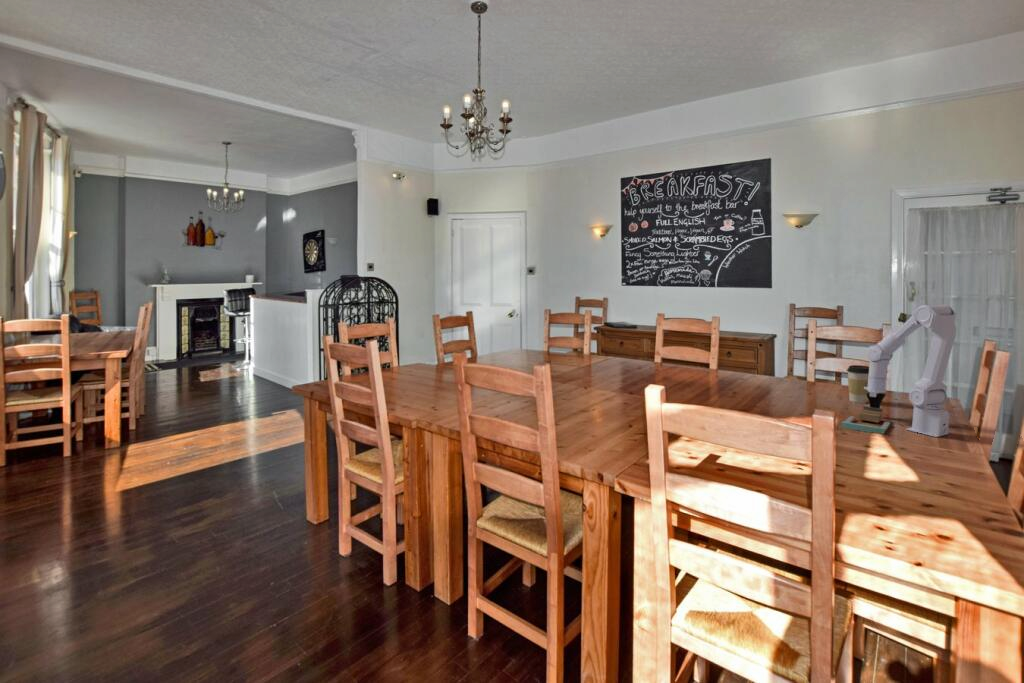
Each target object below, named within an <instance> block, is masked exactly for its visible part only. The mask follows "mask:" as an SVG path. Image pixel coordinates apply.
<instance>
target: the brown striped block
mask: <svg viewBox="0 0 1024 683" xmlns="http://www.w3.org/2000/svg"><path fill="white" fill-rule="evenodd" d="M858 418H859V420H860V421H861V422H862V421H864V422H865V421H866V422H873V423H874V424H875V423H876V424H879V422H881V420H882V419H883V408H881V407H880V408H872V407H870V406H863V407H862V410H861V411H860V412H859V417H858ZM876 424H875V425H876Z"/></svg>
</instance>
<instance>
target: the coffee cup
mask: <svg viewBox="0 0 1024 683" xmlns="http://www.w3.org/2000/svg"><path fill="white" fill-rule="evenodd" d="M846 371H847V375H848V376H847V382H848V383H847V385H848V394H849V397H848V398H849V402H851V401H852V402H851V403H855V402H857V404H867V403H868V397H867V395H866V394H867V393H870V392H869V391H868V390H866V389H864V387H868V376H869V366H867V365H858V364H857V365H855V364H854V365H853V364H852V365H849V366H848V368H847V369H846ZM866 402H867V403H866Z"/></svg>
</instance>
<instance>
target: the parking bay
mask: <svg viewBox="0 0 1024 683" xmlns="http://www.w3.org/2000/svg"><path fill="white" fill-rule="evenodd" d="M854 421H855V416H852V415H850V416H849V417H847V418H846V419H845V420H844V421H843V420H842V421H841V424H840V425H841V426H840V428H842V427H843V428H842V429H846V428H847V429H848V430H853V431H858V430H860V431H859V432H864V431H868V432H867V433H870V432H874V433H873V434H876V433H880V434H879V435H882V434H883V435H884V434H885V433H886V432H887V430H888V429H889V428H888V427H890V426H891V422H890V421H884V422H883V423H882V425H881V426H880V427H879V426H874V425H867V424H861V423H855V422H854ZM847 429H846V430H847ZM885 431H886V432H885Z"/></svg>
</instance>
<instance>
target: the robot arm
mask: <svg viewBox="0 0 1024 683" xmlns="http://www.w3.org/2000/svg"><path fill="white" fill-rule="evenodd" d="M956 317H957V312H956V311H955V310H954V309H953V307H952V306H950V305H948V304H940V305H927V304H923V305H920V306H918V307H917V308H916V309H915V310H914V311H913V312H912V314H911V316H910V317H909V318H908V319H907V320H906V321H905V322H904V324H902V325H901V326H900V328H898V330H897V331H896V332H895V331H891V332H887V333H886V334H885V337H884V338H883V339H881V340H880V341H878V342H877V343H876V345H870V346H869V347H868V348H867V350H866V358H867V359H868V360H869V376H868V387H864V389H866V390H868V391H869V393H867V394H866V395H867V397H868V399H867V401H869V407H872V408H880V409H881V404H882V402H883V400H884V398H885V397H886V395H887V394H886V392H887V389H886V388H887V380H888V379H887V377H888V366H889V365H890V361H891V359H892V358H893V356H894V353H895V352H896V351H897V350H899V348H901V347H902V346H903V345H904V344H905V343H906V338H907V337H909V336H910V335H912V333H914V332H915V331H916V330H918V329H919V328H921V327H925V328H926V329H927V330H929V331H930V332H931V333H932V334H933V337H932V341H931V345H930V348H929V352H928V355H927V360H926V363H925V365H924V370H923V374H922V378H921V379H919V380H917V381H916V382H915V384H914V387H913V388H912V389H911V391H909V395H908V398H909V401H910V403H911V404H912V406H913V411H912V412H913V414H912V424H911V427H907V428H905V430H906V431H908V430H909V432H913V433H917V432H918V434H921V433H922V435H926V436H931V437H935V438H939V437H943V436H945V435H949V434H950V432H949V425H950V412H949V411H947V410H944V409H942V407H943V404H945V403H946V402H947V400H948V394H947V390H948V386H947V385H946V384H945V383H944V382H943V380H944V377H945V373H946V370H947V366H948V364H949V359H950V357H951V353H952V348H953V346H954V342H955V338H956V335H957V326H956Z"/></svg>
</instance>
